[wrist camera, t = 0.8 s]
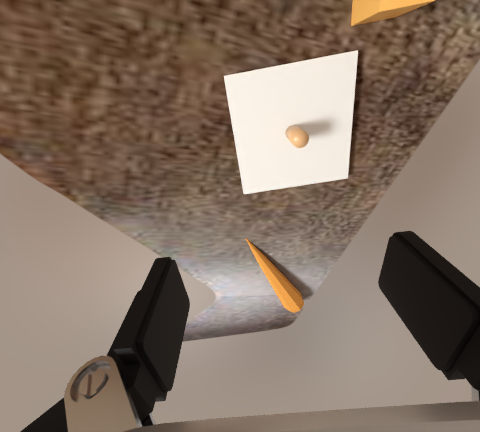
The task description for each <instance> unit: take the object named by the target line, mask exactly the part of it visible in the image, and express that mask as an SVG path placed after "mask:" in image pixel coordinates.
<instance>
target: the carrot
mask: <svg viewBox="0 0 480 432" xmlns="http://www.w3.org/2000/svg"><path fill="white" fill-rule="evenodd" d="M246 240H247V239H246ZM247 242H248V244H249V246H250V248H251V250H252V252H253V254H254V256H255V257H256V259H257V261H258V263H259V265H260V267H261V268H262V270H263V272H264V273H265V275H266V277H267V279H268V280H269V282H270V284H271V285H272V287H273V289H274V291H275V292H276V294H277V296H278V297H279V299H280V301H281V303H282V304H283V306H284V307H285V308H286V309H288V310H289V311H291V312H297V311H299V310H301V308H302V307H303V305H304V302H303V298H302V295H301V293H300V292H299V291H298V290H297V289H296V288H295V287H294V286H293V285H292V284H291V283H290V282H289V281H288V279H287V278H286V277H285V276H284V275H283V274H282V273H281V272H280V271H279V270H278V269H277V268H276V267H275V266H274V265H273V264H272V263H271V262H270V261H269V260H268V258H267V257H266V256H265V255H264V254H262V253H261V252H260V251H259V250H258V249H257V248H256V247H255V246H254V245H253V244H252V243H251V242H250V241H248V240H247Z"/></svg>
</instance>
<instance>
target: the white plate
mask: <svg viewBox="0 0 480 432" xmlns="http://www.w3.org/2000/svg"><path fill="white" fill-rule="evenodd" d="M357 59H358V50H357V51H352V52H346V53H341V54H336V55H331V56H326V57H320V58H315V59H310V60H305V61H300V62H294V63H289V64H284V65H279V66H274V67H268V68H263V69H258V70H253V71H248V72H242V73H237V74H232V75H227V76H224V80H225V86H226V92H227V98H228V104H229V110H230V115H231V121H232V127H233V133H234V139H235V145H236V151H237V157H238V163H239V169H240V175H241V180H242V186H243V192H244V194H249V193H255V192H262V191H268V190H275V189H281V188H288V187H294V186H301V185H307V184H314V183H320V182H327V181H333V180H340V179H346V178H348V169H349V157H350V145H351V132H352V120H353V108H354V96H355V83H356V71H357Z"/></svg>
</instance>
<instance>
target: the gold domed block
mask: <svg viewBox="0 0 480 432" xmlns="http://www.w3.org/2000/svg"><path fill="white" fill-rule="evenodd" d="M433 1H435V0H353V5H352V20H351V26H355V25H360V24H365V23H370V22H375V21H380V20H385V19H390V18H395V17H398V16H400V15H402V14H405V13H407V12H409V11H412V10H414V9H417V8H419V7H421V6H424V5H426V4H428V3H431V2H433Z"/></svg>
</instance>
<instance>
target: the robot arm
mask: <svg viewBox="0 0 480 432" xmlns="http://www.w3.org/2000/svg"><path fill="white" fill-rule="evenodd" d="M378 283H379V287H380V289H381V291H382V292H383V294H384V295H385V297H386V298H387V299H388V301H389V302H390V304H391V305H392V307H393V308H394V309H395V311H396V312H397V314H398V315H399V317H400V318H401V319H402V321H403V322H404V324H405V325H406V327H407V328H408V329H409V331H410V332H411V334H412V335H413V337H414V338H415V339H416V341H417V342H418V344H419V345H420V347H421V348H422V349H423V351H424V352H425V354H426V355H427V357H428V358H429V359H430V361H431V362H432V364H433V365H434V366H435V367H436V368H437V369H438V370H441V371H442V372H443V374H444V375H445V376H446V378H447V379H448V380H456V379H465V378H466V379H467V380H468V382H469V383H470V384H471V385H472V402H454V403H438V404H422V405H406V406H390V407H375V408H361V409H345V410H330V411H316V412H303V413H288V414H274V415H260V416H247V417H232V418H219V419H206V420H196V421H185V422H174V423H164V424H158V425H156V424H155V421H154V419H153V417H152V414H151V412H152V411H153V408H154V404H155V402H156V401H165V400H166V396H167V391H170V390H171V389H172V387H173V382H174V378H175V373H176V368H177V363H178V359H179V354H180V349H181V345H182V340H183V336H184V331H185V326H186V321H187V317H188V312H189V306H190V303H189V298H188V295H187V292H186V290H185V287H184V284H183V281H182V278H181V275H180V273H179V270H178V267H177V264H176V261H175V260H171V258H170V257H164V258H157V259H155V261H154V263H153V265H152V268H151V270H150V272H149V274H148V276H147V278H146V280H145V283H144V285H143V287H142V289H141V290H140V291H138V292H137V294H136V296H135V298H134V300H133V302H132V304H131V306H130V308H129V310H128V312H127V315H126V317H125V319H124V321H123V323H122V325H121V327H120V329H119V331H118V333H117V336H116V337H115V340H114V342H113V344H112V346H111V348H110V350H109V352H108V354H107V356H100V357H97V358H94V359H92V360H90V361H88V362H87V363H86V364H84V365H83V366H82V367H80V368H79V369H78V370H77V372H76V373H75V374H74V375H73V376H72V378H71V379H70V381H69V383H68V385H67V387H66V390H65V395H64V398H63V399H61V400H60V401H59V402H58V403H56V404H55V405H54V406H53V407H51V408H50V409H49V410H47V411H46V412H45V413H44V414H42V415H41V416H40V417H39V418H37V419H36V420H35V421H33V422H32V423H31V424H30V425H28V426H27V427H26V428H25V429H23V430H22V431H21V432H480V287H478V286H477V285H476V284H475V283H473V282H472V281H471V280H470V279H469V278H467V277H466V276H465V275H464V274H463V273H462V272H460V271H459V270H458V269H457V268H456V267H454V266H453V265H452V264H451V263H450V262H448V261H447V260H446V259H445V258H444V257H442V256H441V255H440V254H439V253H438V252H436V251H435V250H434V249H433V248H432V247H430V246H429V245H428V244H427V243H426V242H425V241H423V240H422V239H421V238H419V236H417V235H416V234H415V233H414V232H412V231H405V232H396V233H394V234H393V236H391V237H390V238H389V241H388V245H387V249H386V253H385V257H384V262H383V265H382V269H381V273H380V277H379V282H378Z"/></svg>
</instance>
